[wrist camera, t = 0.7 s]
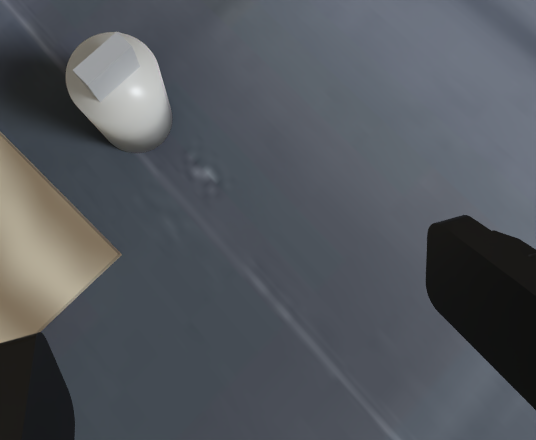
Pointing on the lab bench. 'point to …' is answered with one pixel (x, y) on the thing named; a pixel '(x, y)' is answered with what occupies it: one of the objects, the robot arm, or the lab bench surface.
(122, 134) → the white bottle
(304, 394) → the lab bench surface
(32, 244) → the board
